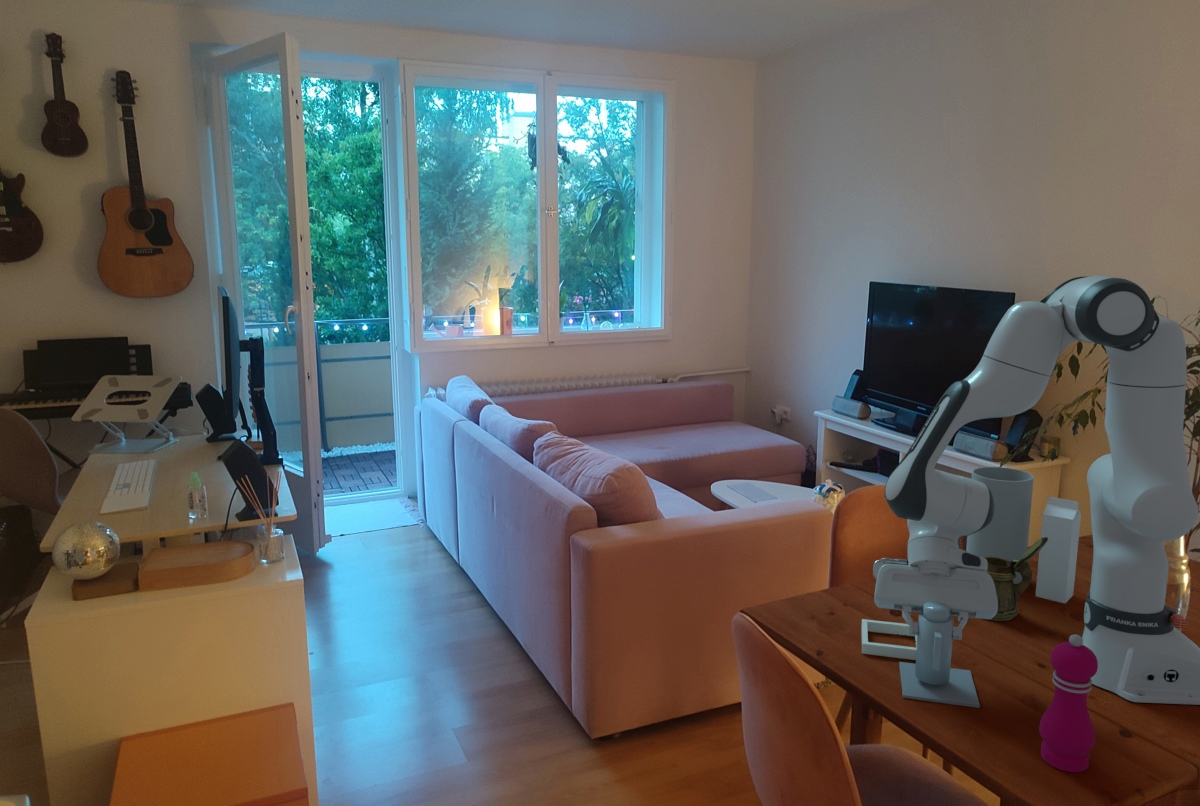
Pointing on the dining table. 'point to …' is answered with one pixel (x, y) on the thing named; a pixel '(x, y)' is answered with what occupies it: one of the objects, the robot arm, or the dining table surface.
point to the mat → (939, 687)
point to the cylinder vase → (1004, 515)
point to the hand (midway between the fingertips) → (935, 636)
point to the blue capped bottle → (934, 644)
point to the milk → (1058, 550)
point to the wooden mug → (1011, 580)
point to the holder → (886, 648)
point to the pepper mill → (1069, 708)
